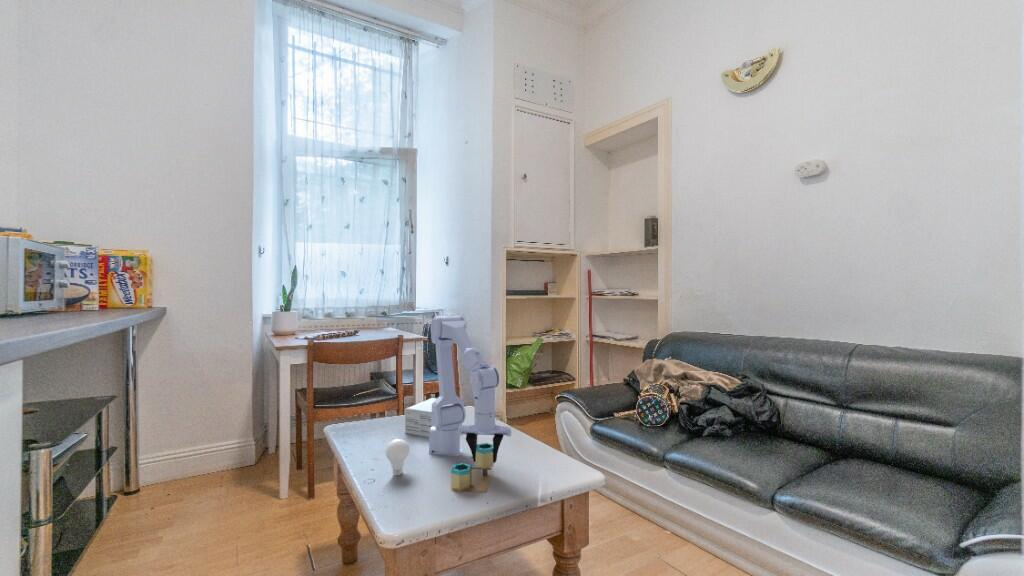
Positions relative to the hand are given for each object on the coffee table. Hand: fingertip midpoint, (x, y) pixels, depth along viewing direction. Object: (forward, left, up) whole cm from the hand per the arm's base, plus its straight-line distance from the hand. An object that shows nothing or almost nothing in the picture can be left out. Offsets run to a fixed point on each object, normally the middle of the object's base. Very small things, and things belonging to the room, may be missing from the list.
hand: (485, 460), depth 121 cm
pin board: (-3, -4, -5) cm, 7 cm away
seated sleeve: (-5, -7, -4) cm, 10 cm away
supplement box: (-27, +41, -6) cm, 49 cm away
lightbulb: (-25, -1, -6) cm, 25 cm away
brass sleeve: (0, 0, -1) cm, 1 cm away
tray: (-3, +8, -5) cm, 10 cm away
